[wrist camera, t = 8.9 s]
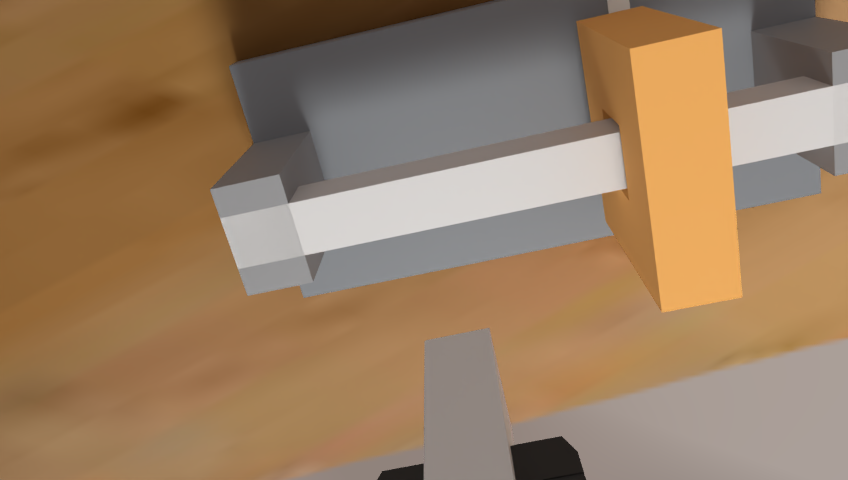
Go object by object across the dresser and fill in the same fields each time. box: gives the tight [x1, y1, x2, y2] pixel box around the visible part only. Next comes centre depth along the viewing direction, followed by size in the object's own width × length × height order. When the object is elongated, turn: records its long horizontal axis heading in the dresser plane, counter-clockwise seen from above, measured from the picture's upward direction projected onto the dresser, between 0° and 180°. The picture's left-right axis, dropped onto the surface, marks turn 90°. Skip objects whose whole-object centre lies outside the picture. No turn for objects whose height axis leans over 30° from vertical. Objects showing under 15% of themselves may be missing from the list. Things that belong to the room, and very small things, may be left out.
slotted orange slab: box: [576, 6, 742, 312], centre depth 30 cm, size 3×10×10 cm, turn 13°
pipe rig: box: [210, 0, 848, 298], centre depth 34 cm, size 28×13×9 cm, turn 103°
